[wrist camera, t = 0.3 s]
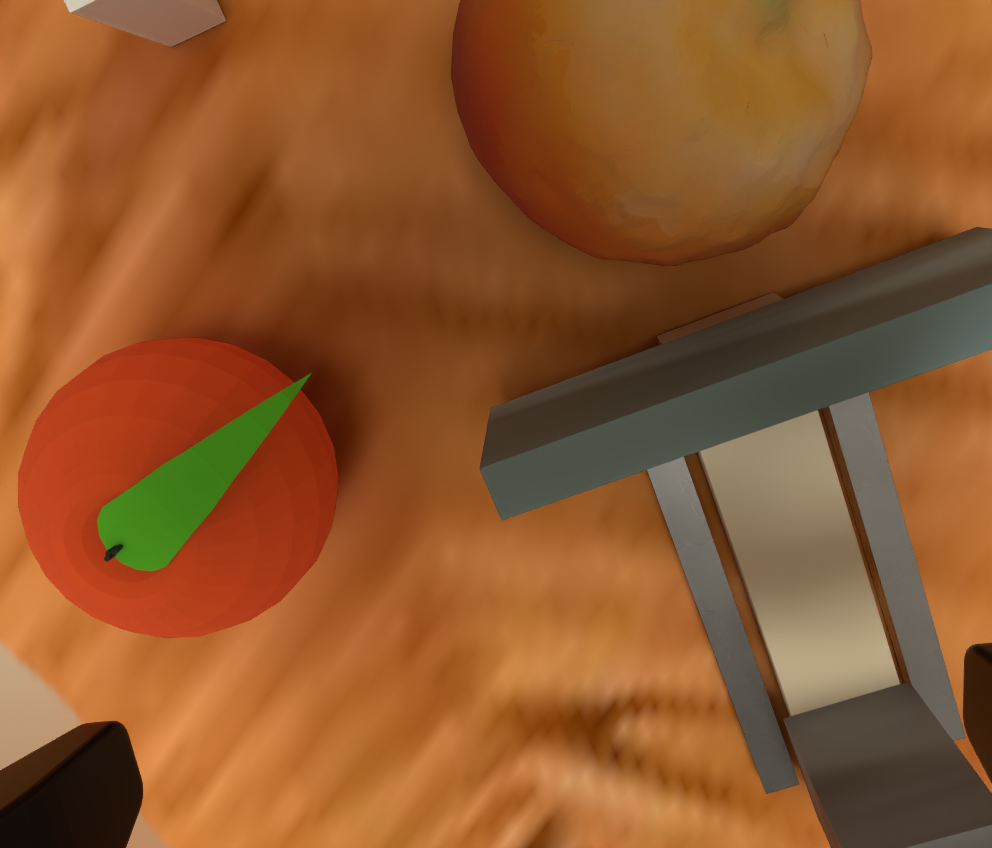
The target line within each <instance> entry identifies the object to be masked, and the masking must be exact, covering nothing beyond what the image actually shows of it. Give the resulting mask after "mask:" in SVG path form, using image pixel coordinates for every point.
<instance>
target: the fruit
mask: <svg viewBox="0 0 992 848" xmlns="http://www.w3.org/2000/svg"><path fill="white" fill-rule="evenodd" d="M871 59H872V47H871V44H870V42H869V39H868V35H867V32H866V28H865V24H864V20H863V17H862V10H861V2H860V0H460V3H459V8H458V12H457V17H456V22H455V27H454V33H453V47H452V67H451V77H452V84H453V89H454V95H455V102H456V106H457V110H458V114H459V116H460V119H461V121H462V124H463V127H464V129H465V132H466V135H467V138H468V141H469V143H470V146H471V148H472V150H473V152H474V154H475V155H476V157H477V158H478V160H479V162H480V163H481V165H482V166H483V167H484V168H485V170H486V171H487V172H488V173H489V175H490V176H491V177H492V178H493V180H494V181H495V182H496V183H497V184H498V185H499V186H500V187H501V189H502V190H503V191H504V192H505V193H506V194H507V195H508V196H509V197H510V199H511V200H512V201H513V202H514V203H515V204H516V205H517V206H518V207H519V208H520V209H521V210H522V211H523V212H524V213H525V214H526V215H527V216H528V217H529V218H530V219H532V220H533V221H534V222H536V223H537V224H538V225H540V226H541V227H542V228H543V229H545V230H546V231H548V232H549V233H551V234H553V235H554V236H556V237H557V238H559V239H561V240H562V241H564V242H566V243H568V244H570V245H572V246H573V247H575V248H577V249H579V250H581V251H582V252H584V253H586V254H589V255H591V256H594V257H597V258H601V259H606V260H623V261H633V262H641V263H649V264H656V265H662V266H676V265H679V264H682V263H685V262H690V261H696V260H702V259H707V258H712V257H715V256H718V255H722V254H727V253H731V252H736V251H739V250H743V249H745V248H748V247H750V246H752V245H754V244H756V243H759V242H760V241H761V240H763V239H764V238H766V237H767V236H768V235H770V234H772V233H774V232H776V231H779V230H782V229H785V228H787V227H788V226H790V225H791V224H792V223H793V222H794V221H795V220H796V219H797V218H798V216H799V215H800V214H801V212H802V211H803V210H804V208H805V207H806V206H807V205H808V204H809V203H810V202H811V201H812V200H813V199H814V197H815V195H816V193H817V191H818V189H819V188H820V186H821V184H822V182H823V180H824V178H825V175H826V173H827V171H828V169H829V167H830V165H831V163H832V161H833V159H834V158H835V157H836V155H837V154H838V152H839V150H840V148H841V145H842V142H843V139H844V136H845V134H846V132H847V130H848V128H849V126H850V124H851V122H852V120H853V118H854V115H855V113H856V111H857V108H858V105H859V102H860V100H861V97H862V94H863V90H864V86H865V82H866V78H867V73H868V70H869V66H870V63H871Z"/></svg>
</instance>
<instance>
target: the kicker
mask: <svg viewBox="0 0 992 848" xmlns="http://www.w3.org/2000/svg"><path fill="white" fill-rule="evenodd" d="M657 337H658V340H659V343H660V345H658V346H656V347H653V348H650V349H648V350H645V351H642V352H640V353H637V354H634V355H632V356H629V357H626V358H624V359H621V360H618V361H615V362H613V363H610V364H607V365H605V366H602V367H599V368H597V369H594V370H591V371H589V372H586V373H583V374H581V375H578V376H575V377H572V378H570V379H567V380H564V381H562V382H559V383H556V384H554V385H551V386H548V387H546V388H543V389H540V390H538V391H535V392H532V393H529V394H527V395H524V396H521V397H519V398H516V399H513V400H511V401H508V402H505V403H503V404H500V405H497V406H495V407H492V408H491V409H490V415H489V420H488V425H487V431H486V436H485V442H484V447H483V453H482V458H481V464H480V471H481V473H482V475H483V478H484V480H485V482H486V485H487V487H488V489H489V492H490V494H491V497H492V499H493V501H494V504H495V506H496V508H497V511H498V513H499V515H500V518H501V520H505V519H508V518H510V517H513V516H516V515H519V514H522V513H525V512H528V511H530V510H533V509H536V508H539V507H542V506H545V505H548V504H550V503H553V502H556V501H559V500H562V499H565V498H568V497H571V496H573V495H576V494H579V493H582V492H585V491H588V490H591V489H593V488H596V487H599V486H602V485H605V484H608V483H611V482H613V481H616V480H619V479H622V478H625V477H628V476H631V475H633V474H636V473H639V472H642V471H645V470H648V469H651V468H653V467H656V466H659V465H662V464H665V463H668V462H671V461H673V460H676V459H679V458H682V457H685V456H688V455H691V454H694V453H696V452H698V455H699V458H700V461H701V464H702V467H703V470H704V472H705V475H706V478H707V481H708V484H709V487H710V490H711V493H712V495H713V498H714V501H715V504H716V507H717V510H718V513H719V516H720V518H721V521H722V524H723V527H724V530H725V533H726V536H727V539H728V541H729V544H730V547H731V550H732V553H733V556H734V559H735V562H736V565H737V567H738V570H739V573H740V576H741V579H742V582H743V585H744V588H745V590H746V593H747V596H748V599H749V602H750V605H751V608H752V611H753V613H754V616H755V619H756V622H757V625H758V628H759V631H760V634H761V636H762V639H763V642H764V645H765V648H766V651H767V654H768V657H769V659H770V662H771V665H772V668H773V671H774V674H775V677H776V680H777V682H778V685H779V688H780V691H781V694H782V697H783V700H784V703H785V705H786V708H787V711H788V714H789V717H787V718H783V720H784V723H785V726H786V728H787V731H788V734H789V737H790V740H791V743H792V746H793V748H794V751H795V754H796V757H797V760H798V763H799V766H800V768H801V771H802V774H803V777H804V780H805V783H806V785H807V788H808V791H809V794H810V797H811V800H812V803H813V805H814V808H815V811H816V814H817V817H818V819H819V821H820V823H821V826H822V828H823V830H824V833H825V835H826V837H827V839H828V842H829V844H830V846H831V848H992V793H991V792H990V791H989V789H988V788H987V787H986V785H985V784H984V782H983V781H982V780H981V778H980V777H979V776H978V774H977V773H976V772H975V770H974V769H973V767H972V766H971V765H970V763H969V762H968V761H967V759H966V758H965V757H964V755H963V754H962V752H961V751H960V750H959V748H958V747H957V746H956V744H955V743H954V742H953V740H952V739H951V737H950V736H949V735H948V733H947V732H946V731H945V729H944V728H943V727H942V725H941V724H940V722H939V721H938V720H937V718H936V717H935V716H934V714H933V713H932V712H931V710H930V709H929V707H928V706H927V705H926V703H925V702H924V701H923V699H922V698H921V697H920V695H919V694H918V693H917V691H916V690H915V688H914V687H913V686H912V684H911V683H910V682H905V683H902V684H900V682H899V679H898V675H897V672H896V669H895V665H894V662H893V659H892V655H891V652H890V649H889V645H888V642H887V639H886V636H885V632H884V629H883V626H882V622H881V619H880V616H879V612H878V609H877V606H876V602H875V599H874V596H873V592H872V589H871V586H870V582H869V579H868V576H867V572H866V569H865V566H864V562H863V559H862V556H861V552H860V549H859V546H858V542H857V539H856V536H855V532H854V529H853V526H852V522H851V519H850V516H849V513H848V509H847V506H846V503H845V499H844V496H843V493H842V489H841V486H840V483H839V479H838V476H837V473H836V469H835V466H834V463H833V459H832V456H831V453H830V449H829V446H828V443H827V439H826V436H825V433H824V429H823V426H822V423H821V419H820V416H819V413H818V410H819V409H822V408H825V407H828V406H831V405H834V404H837V403H839V402H842V401H845V400H848V399H851V398H854V397H857V396H859V395H862V394H865V393H868V392H871V391H874V390H877V389H879V388H882V387H885V386H888V385H891V384H894V383H897V382H900V381H902V380H905V379H908V378H911V377H914V376H917V375H920V374H922V373H925V372H928V371H931V370H934V369H937V368H940V367H942V366H945V365H948V364H951V363H954V362H957V361H960V360H962V359H965V358H968V357H971V356H974V355H977V354H980V353H982V352H985V351H988V350H991V349H992V229H988V228H981V227H976V228H973V229H970V230H968V231H965V232H962V233H959V234H957V235H954V236H951V237H949V238H946V239H943V240H941V241H938V242H935V243H933V244H930V245H927V246H925V247H922V248H919V249H916V250H914V251H911V252H908V253H906V254H903V255H900V256H898V257H895V258H892V259H890V260H887V261H884V262H882V263H879V264H876V265H873V266H871V267H868V268H865V269H863V270H860V271H857V272H855V273H852V274H849V275H847V276H844V277H841V278H839V279H836V280H833V281H830V282H828V283H825V284H822V285H820V286H817V287H814V288H812V289H809V290H806V291H804V292H801V293H798V294H796V295H793V296H790V297H787V298H785V299H784V298H782V297H780V296H778V295H776V294H774V293H770V294H768V295H765V296H762V297H760V298H757V299H754V300H752V301H749V302H746V303H744V304H741V305H738V306H736V307H733V308H730V309H728V310H725V311H722V312H720V313H717V314H714V315H712V316H709V317H706V318H704V319H701V320H698V321H696V322H693V323H690V324H688V325H685V326H682V327H680V328H677V329H674V330H672V331H669V332H666V333H664V334H661V335H658V336H657Z"/></svg>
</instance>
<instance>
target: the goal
mask: <svg viewBox="0 0 992 848" xmlns="http://www.w3.org/2000/svg"><path fill="white" fill-rule="evenodd" d="M64 2H65V4H66V6H67V8H68V10H69V12H70V13H72V14H75V15H78V16H81V17H84V18H87V19H90V20H93V21H96V22H99V23H102V24H105V25H108V26H110V27H113V28H116V29H119V30H122V31H125V32H128V33H131V34H134V35H137V36H140V37H143V38H146V39H149V40H152V41H155V42H158V43H161V44H164V45H167V46H170V47H172V46H174V45H176V44H179V43H181V42H183V41H185V40H187V39H189V38H191V37H193V36H196V35H198V34H200V33H202V32H204V31H206V30H208V29H210V28H213V27H215V26H217V25H219V24H221V23H223V22H225V21H226V19H225V17H224V15H223V12H222V10H221V8H220V6H219V4H218V1H217V0H64Z"/></svg>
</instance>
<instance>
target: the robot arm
mask: <svg viewBox="0 0 992 848" xmlns="http://www.w3.org/2000/svg"><path fill="white" fill-rule="evenodd" d="M963 719H964V725H965V729H966V733H967V735H968V738H969V740H970V742H971V744H972V746H973V748H974V750H975V752H976V754H977V756H978V758H979V760H980V762H981V764H982V766H983V768H984V770H985V771H986V773H987V775H988V777H989V779H990V781H991V783H992V643H983V644H975V645H972V646H970V647H969V648H968V649H967V651H966V654H965V657H964V688H963ZM142 799H143V783H142V778H141V775H140V772H139V768H138V765H137V761H136V758H135V755H134V751H133V748H132V744H131V741H130V738H129V734H128V732H127V729H126V728H125V727H124V725H123V724H121V723H120V722H118V721H105V722H94V723H85V724H82V725H80V726H78V727H76V728H74V729H72V730H71V731H69V732H67V733H65V734H64V735H62V736H60V737H58V738H56V739H55V740H53V741H51V742H50V743H48V744H46V745H45V746H43V747H41V748H39V749H37V750H35V751H34V752H32V753H30V754H28V755H27V756H25V757H23V758H21V759H20V760H18V761H16V762H14V763H12V764H11V765H9V766H7V767H6V768H4V769H2V770H0V848H126V846H127V844H128V841H129V838H130V836H131V833H132V830H133V827H134V824H135V822H136V819H137V816H138V814H139V811H140V808H141V804H142Z"/></svg>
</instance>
